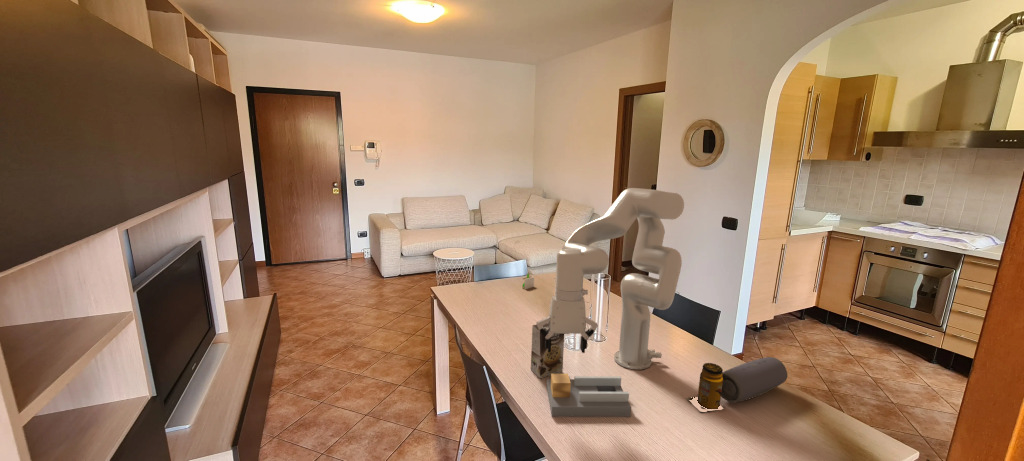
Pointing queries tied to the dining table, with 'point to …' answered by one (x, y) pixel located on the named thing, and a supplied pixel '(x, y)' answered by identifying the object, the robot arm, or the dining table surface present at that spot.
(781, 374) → the bluetooth speaker
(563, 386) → the block
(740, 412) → the dining table surface
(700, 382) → the condiment
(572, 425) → the dining table surface
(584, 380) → the trap channel
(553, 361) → the cookie box
